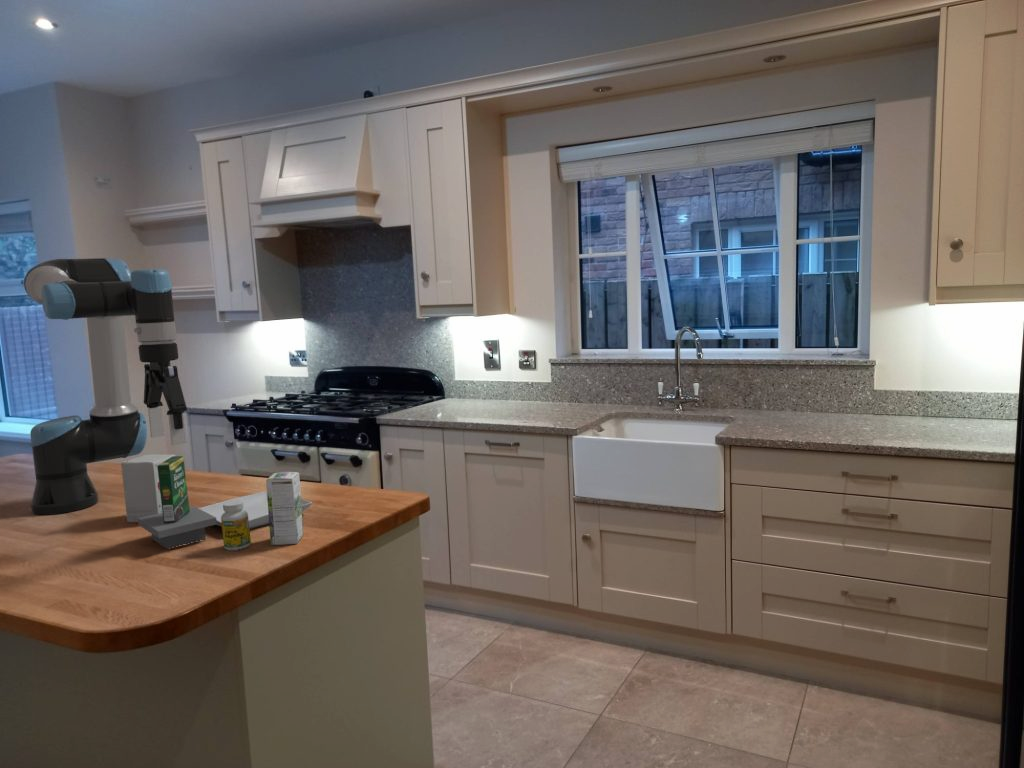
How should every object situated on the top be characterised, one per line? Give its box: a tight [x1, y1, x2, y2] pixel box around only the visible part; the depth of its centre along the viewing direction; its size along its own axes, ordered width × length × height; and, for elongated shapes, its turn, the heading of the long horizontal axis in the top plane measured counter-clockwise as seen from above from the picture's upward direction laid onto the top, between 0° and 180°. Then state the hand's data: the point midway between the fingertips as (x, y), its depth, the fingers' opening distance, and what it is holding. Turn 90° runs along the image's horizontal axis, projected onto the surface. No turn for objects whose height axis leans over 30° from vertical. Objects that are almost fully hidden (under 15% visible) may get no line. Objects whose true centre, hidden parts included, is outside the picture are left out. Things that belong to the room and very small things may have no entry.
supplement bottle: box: [221, 500, 252, 551], centre depth 155 cm, size 5×5×10 cm
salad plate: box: [198, 490, 313, 530], centre depth 176 cm, size 21×21×3 cm
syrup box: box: [265, 471, 304, 546], centre depth 157 cm, size 6×6×14 cm
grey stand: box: [137, 505, 217, 550], centre depth 162 cm, size 14×12×5 cm
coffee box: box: [157, 455, 190, 523], centre depth 161 cm, size 8×3×13 cm, turn 2°
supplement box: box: [120, 453, 177, 523], centre depth 179 cm, size 9×9×15 cm
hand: (168, 440), depth 159 cm, fingers open, 13 cm apart
